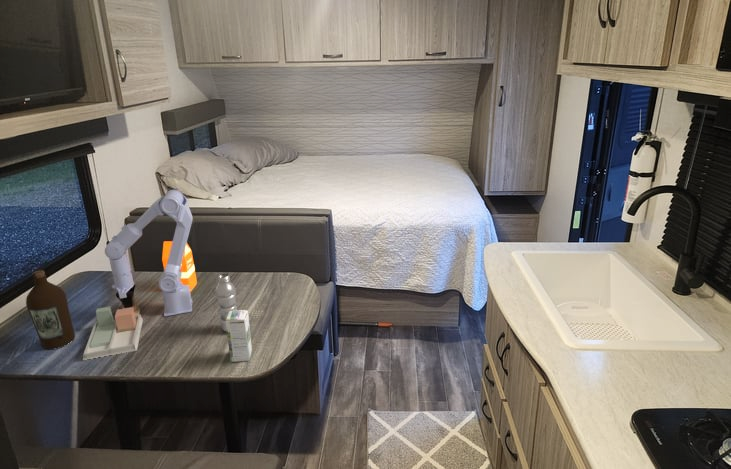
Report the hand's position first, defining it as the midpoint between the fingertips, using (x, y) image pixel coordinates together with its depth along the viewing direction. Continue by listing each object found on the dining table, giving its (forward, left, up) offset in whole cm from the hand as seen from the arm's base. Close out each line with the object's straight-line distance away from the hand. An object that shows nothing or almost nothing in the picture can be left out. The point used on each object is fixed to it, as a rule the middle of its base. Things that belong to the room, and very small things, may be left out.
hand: (129, 307), depth 169 cm
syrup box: (-35, +40, -3) cm, 53 cm away
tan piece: (0, +6, -2) cm, 6 cm away
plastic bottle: (-33, +23, -3) cm, 40 cm away
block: (0, +10, -1) cm, 10 cm away
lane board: (+3, +15, -3) cm, 16 cm away
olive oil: (+21, +10, -3) cm, 23 cm away
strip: (+7, +12, -2) cm, 14 cm away
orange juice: (-17, -16, -3) cm, 24 cm away
